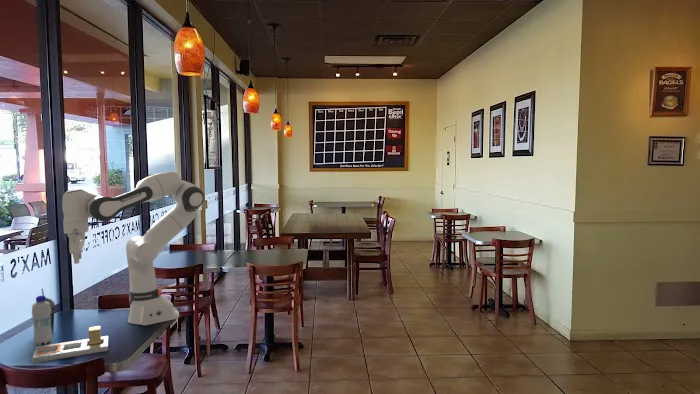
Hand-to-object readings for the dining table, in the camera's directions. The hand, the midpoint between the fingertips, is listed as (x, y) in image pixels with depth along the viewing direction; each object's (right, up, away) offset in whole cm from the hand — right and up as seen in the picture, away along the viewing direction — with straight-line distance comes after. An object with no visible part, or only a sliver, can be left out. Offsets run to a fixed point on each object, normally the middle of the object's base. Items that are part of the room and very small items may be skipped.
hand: (77, 261), depth 197 cm
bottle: (-13, -34, -1) cm, 37 cm away
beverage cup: (-19, -33, +9) cm, 39 cm away
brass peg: (+11, -34, -6) cm, 36 cm away
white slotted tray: (+4, -34, -10) cm, 36 cm away
